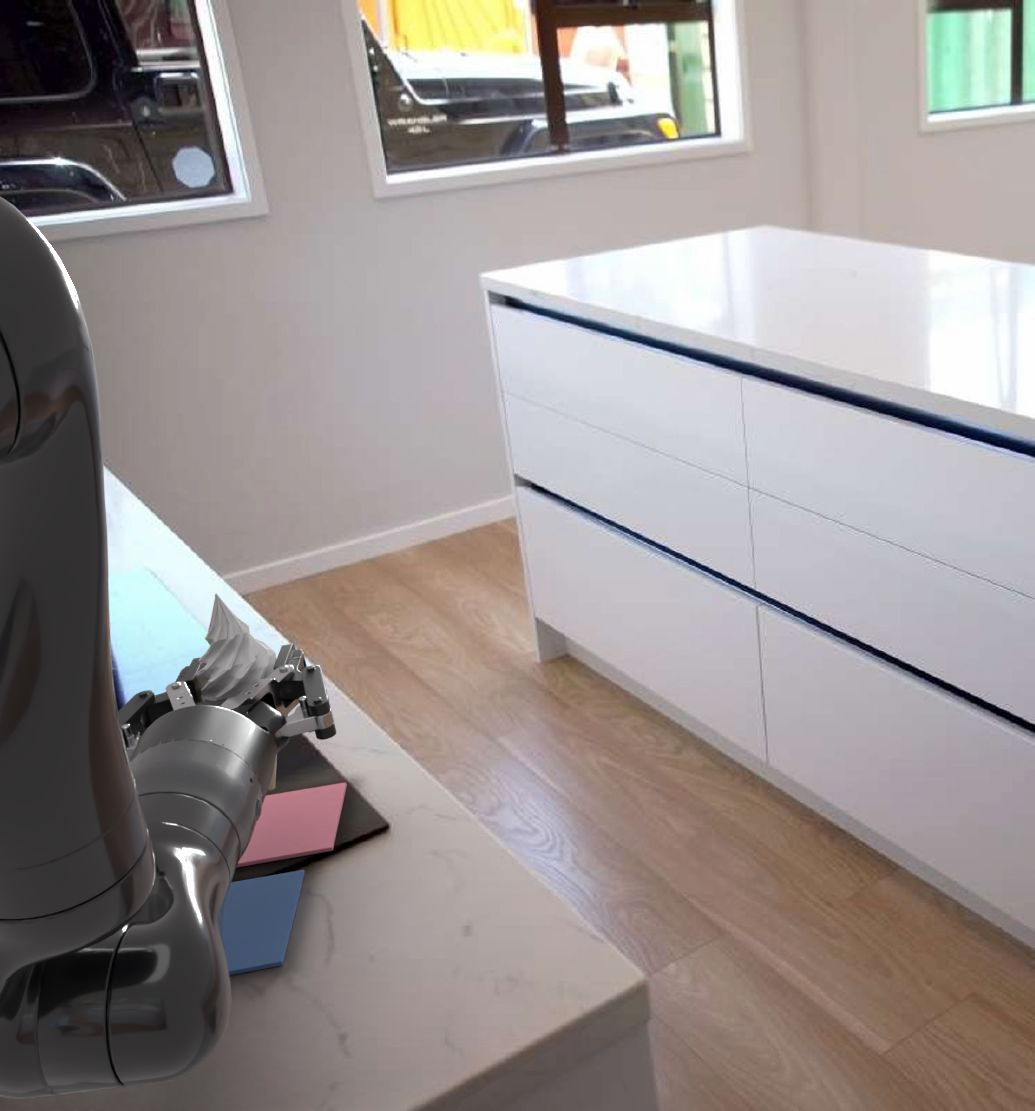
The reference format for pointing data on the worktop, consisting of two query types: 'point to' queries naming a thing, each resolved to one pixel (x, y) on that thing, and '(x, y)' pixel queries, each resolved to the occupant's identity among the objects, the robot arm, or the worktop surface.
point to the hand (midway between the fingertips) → (247, 663)
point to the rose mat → (296, 824)
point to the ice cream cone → (233, 659)
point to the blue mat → (260, 920)
